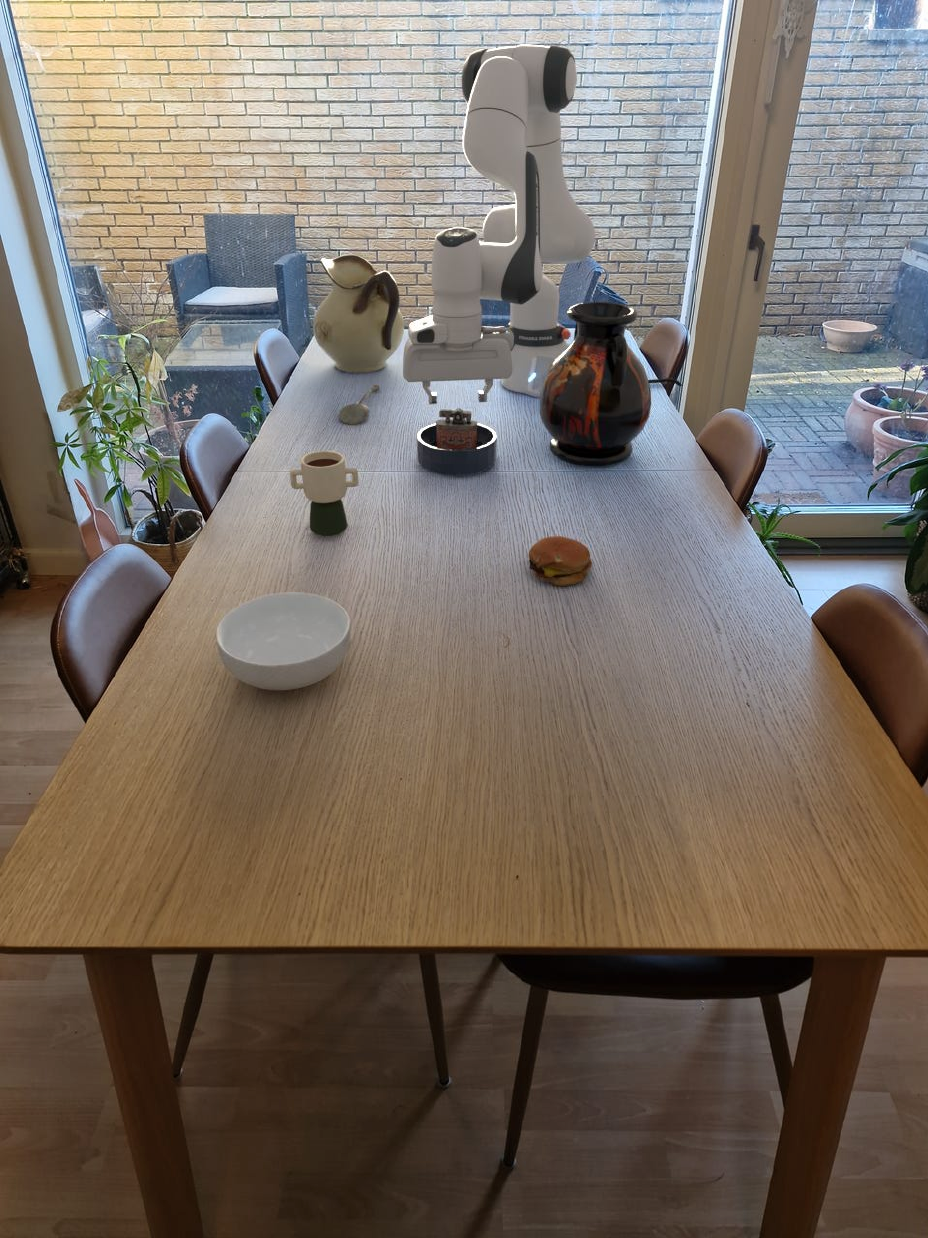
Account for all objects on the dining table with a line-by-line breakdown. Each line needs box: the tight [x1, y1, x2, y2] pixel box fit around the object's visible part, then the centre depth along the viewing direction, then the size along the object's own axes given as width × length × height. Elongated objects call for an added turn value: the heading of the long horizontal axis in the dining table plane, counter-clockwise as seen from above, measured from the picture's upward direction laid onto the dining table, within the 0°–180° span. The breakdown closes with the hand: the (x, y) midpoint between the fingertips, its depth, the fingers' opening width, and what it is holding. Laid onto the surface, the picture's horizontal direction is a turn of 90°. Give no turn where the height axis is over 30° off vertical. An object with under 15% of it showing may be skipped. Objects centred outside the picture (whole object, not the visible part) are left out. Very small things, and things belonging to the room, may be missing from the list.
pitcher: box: [312, 253, 405, 374], centre depth 217 cm, size 22×24×25 cm
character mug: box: [289, 450, 359, 537], centre depth 145 cm, size 11×7×13 cm, turn 95°
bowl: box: [416, 423, 498, 476], centre depth 171 cm, size 15×15×6 cm
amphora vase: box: [539, 301, 652, 468], centre depth 169 cm, size 22×22×28 cm
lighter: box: [435, 407, 479, 450], centre depth 170 cm, size 8×3×10 cm, turn 84°
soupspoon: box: [338, 383, 381, 425], centre depth 198 cm, size 22×3×7 cm
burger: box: [527, 535, 593, 587], centre depth 136 cm, size 10×9×5 cm
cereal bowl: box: [215, 591, 352, 691], centre depth 114 cm, size 17×17×7 cm
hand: (457, 402), depth 167 cm, fingers open, 8 cm apart
